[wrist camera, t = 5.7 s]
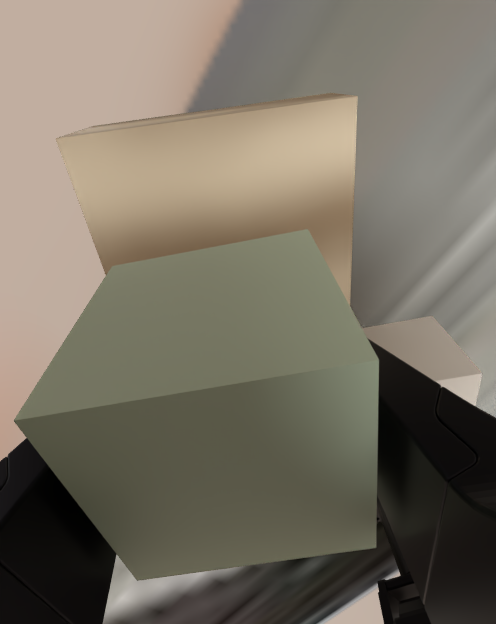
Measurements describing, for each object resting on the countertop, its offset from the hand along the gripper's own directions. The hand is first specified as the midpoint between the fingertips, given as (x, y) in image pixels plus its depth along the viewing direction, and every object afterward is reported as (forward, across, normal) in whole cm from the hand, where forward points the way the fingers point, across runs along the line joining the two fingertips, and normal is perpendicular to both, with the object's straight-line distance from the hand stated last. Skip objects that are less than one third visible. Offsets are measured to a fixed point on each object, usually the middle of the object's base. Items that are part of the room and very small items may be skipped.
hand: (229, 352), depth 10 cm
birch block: (+10, 0, 0) cm, 10 cm away
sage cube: (+1, 0, 0) cm, 1 cm away
